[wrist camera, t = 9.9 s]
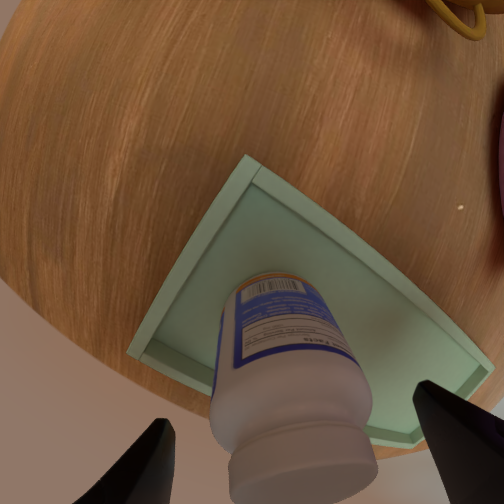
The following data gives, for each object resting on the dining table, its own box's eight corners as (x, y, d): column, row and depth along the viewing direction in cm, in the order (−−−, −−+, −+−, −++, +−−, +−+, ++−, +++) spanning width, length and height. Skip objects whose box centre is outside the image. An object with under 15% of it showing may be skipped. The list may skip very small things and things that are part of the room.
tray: (136, 333, 15) (125, 353, 13) (244, 154, 12) (245, 153, 10) (405, 436, 20) (411, 449, 19) (485, 356, 18) (495, 367, 16)
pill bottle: (284, 368, 15) (312, 521, 6) (202, 329, 14) (171, 503, 5) (344, 299, 14) (436, 450, 5) (259, 246, 13) (294, 430, 4)
